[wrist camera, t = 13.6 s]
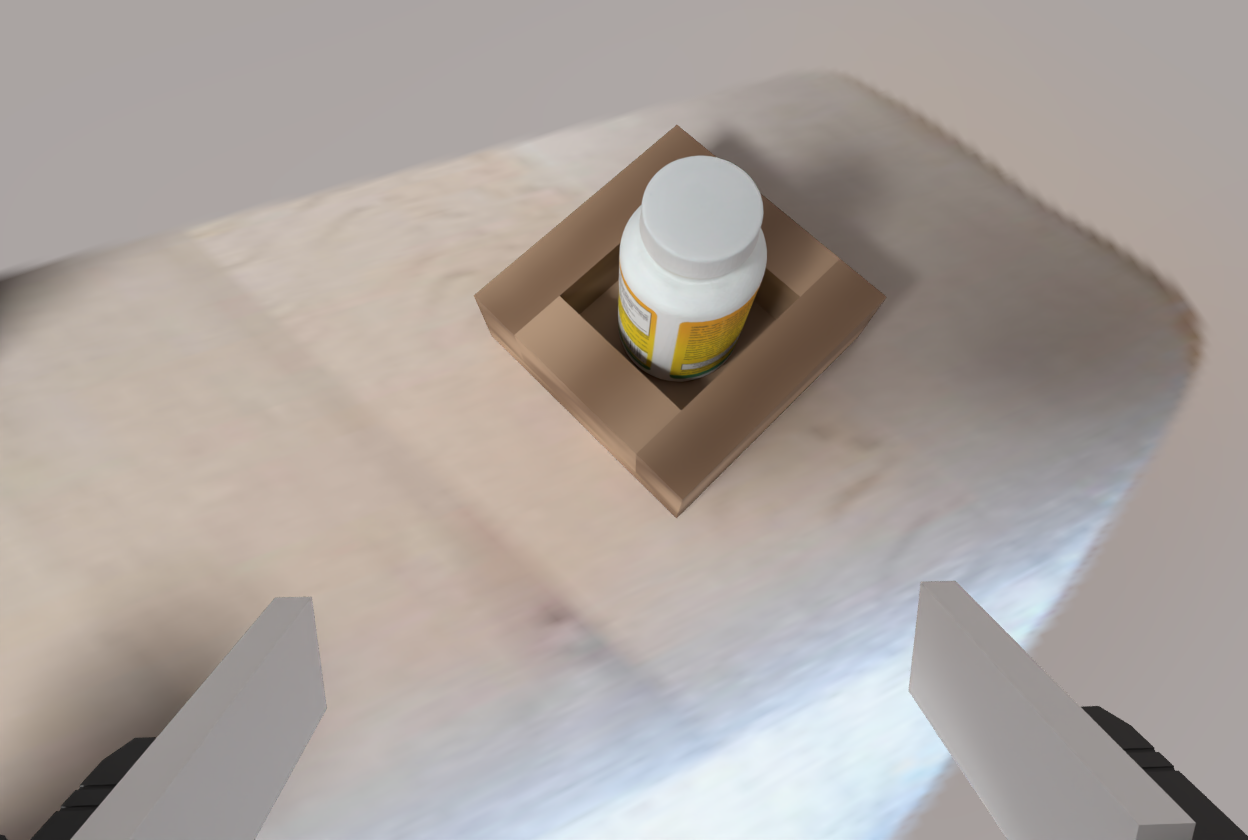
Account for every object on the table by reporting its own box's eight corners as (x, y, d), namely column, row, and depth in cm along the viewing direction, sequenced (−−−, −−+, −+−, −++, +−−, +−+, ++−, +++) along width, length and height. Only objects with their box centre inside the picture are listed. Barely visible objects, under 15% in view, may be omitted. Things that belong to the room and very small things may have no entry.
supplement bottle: (600, 361, 32) (593, 247, 23) (643, 261, 34) (651, 116, 25) (716, 402, 32) (755, 302, 23) (754, 298, 33) (804, 165, 24)
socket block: (491, 335, 34) (473, 295, 30) (672, 179, 36) (677, 124, 33) (676, 518, 31) (682, 499, 27) (857, 336, 34) (886, 297, 30)
